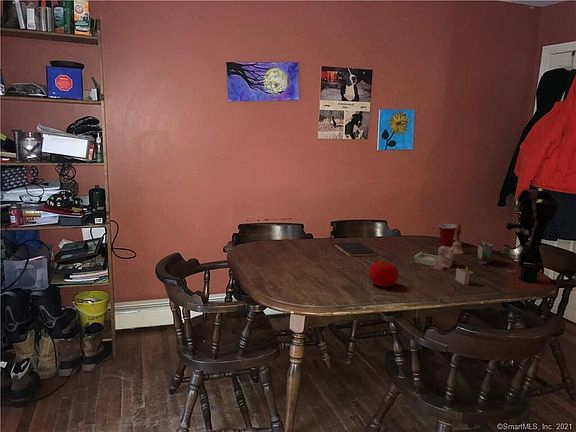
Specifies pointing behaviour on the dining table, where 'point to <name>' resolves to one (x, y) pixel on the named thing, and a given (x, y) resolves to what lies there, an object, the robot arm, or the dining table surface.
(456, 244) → the hand bell
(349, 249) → the hardcover book
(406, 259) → the dining table surface
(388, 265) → the tomato
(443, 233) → the plastic cup
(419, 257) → the channel
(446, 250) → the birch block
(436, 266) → the trap bays
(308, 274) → the dining table surface
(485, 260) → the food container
